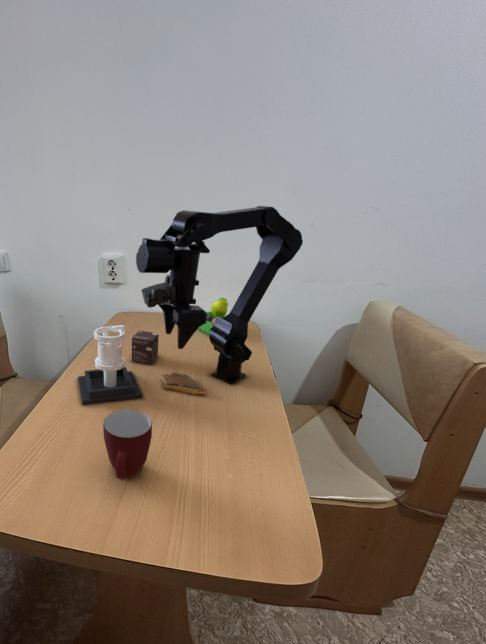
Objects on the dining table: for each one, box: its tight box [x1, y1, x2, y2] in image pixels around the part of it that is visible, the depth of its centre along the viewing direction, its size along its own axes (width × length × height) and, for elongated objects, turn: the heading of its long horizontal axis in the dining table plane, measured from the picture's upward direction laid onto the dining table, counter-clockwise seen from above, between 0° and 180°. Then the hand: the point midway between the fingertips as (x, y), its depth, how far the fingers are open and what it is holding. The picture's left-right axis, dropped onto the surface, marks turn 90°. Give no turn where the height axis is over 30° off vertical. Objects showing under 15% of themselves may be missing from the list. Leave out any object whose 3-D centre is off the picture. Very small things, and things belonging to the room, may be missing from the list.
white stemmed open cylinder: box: [93, 324, 126, 388], centre depth 88 cm, size 7×7×15 cm
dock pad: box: [77, 366, 143, 406], centre depth 91 cm, size 14×12×3 cm
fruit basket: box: [198, 297, 229, 335], centre depth 123 cm, size 11×9×11 cm
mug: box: [102, 408, 153, 480], centre depth 62 cm, size 10×8×10 cm
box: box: [131, 330, 160, 365], centre depth 105 cm, size 6×6×7 cm
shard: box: [159, 371, 207, 395], centre depth 91 cm, size 11×8×2 cm
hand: (173, 340), depth 86 cm, fingers open, 9 cm apart
